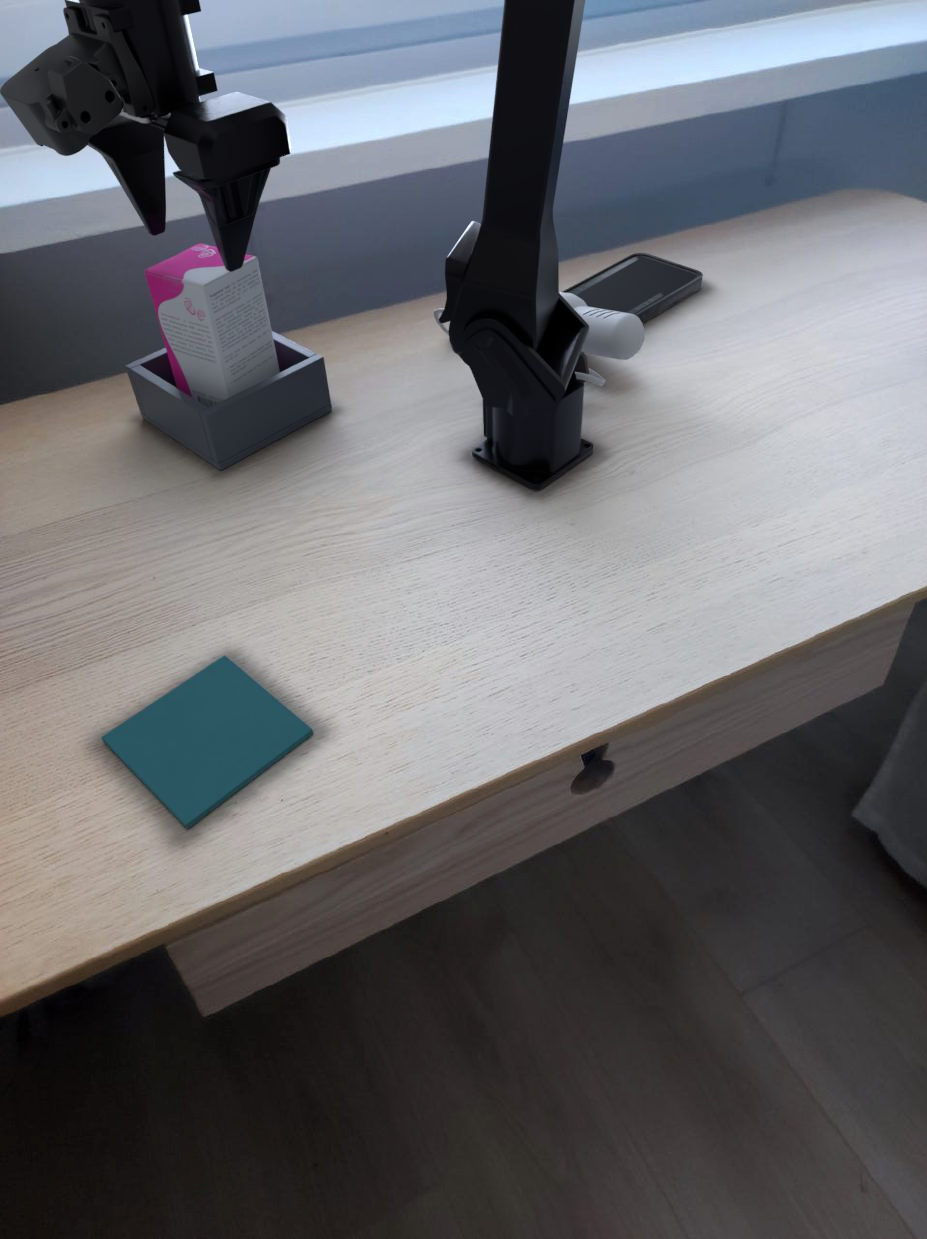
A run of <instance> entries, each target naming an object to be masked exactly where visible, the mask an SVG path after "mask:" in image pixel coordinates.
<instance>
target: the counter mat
mask: <svg viewBox="0 0 927 1239" xmlns="http://www.w3.org/2000/svg"><path fill="white" fill-rule="evenodd" d="M313 734H314V731H313V728H311V726H309V725H308V724H307V723H306V722H304V721H303V719H301V718H300V717H298V716H297V715H296V714H295V713H294V712H293V711H292V710H291V709H289V708H288V707H287V706H286V705H284V704H283V703H282V702H281V701H280V700H278V699H277V697H274V695H272V693H270V692H269V691H267V689H266V688H264V687H263V686H262V685H261V684H259V683H258V682H257V681H256V680H255V679H253V677H251V676H250V675H249V674H247V672H245V671H244V670H243V669H241V667H239V666H238V665H237V664H236V663H234V662H233V661H232V660H231V659H230V658H229V657H228V656H226V655H225V654H224V655H223V656H221V657H219V658H217V660H215V661H213V662H212V663H211V664H209V665H207V666H205V667H204V668H203V669H202V670H199V671H198V672H197V673H195V674H194V675H192V676H191V677H189V678H188V679H186V680H185V681H183V682H182V683H180V684H179V685H177V686H176V687H174V688H173V689H171V690H169V691H168V692H167V693H166V694H163V695H162V696H161V697H159V698H158V699H156V700H154V701H153V702H151V703H150V704H149V705H147V706H145V707H144V708H143V709H141V710H139V711H138V712H137V713H135V714H134V715H132V716H131V717H129V718H128V719H126V720H124V721H123V722H121V723H120V724H119V725H117V726H116V727H114V728H112V729H111V730H109V731H108V732H107V733H105V734H104V735H102V736H101V740H102V742H103V743H104V744H105V745H106V746H107V747H108V748H109V749H110V751H112V752H113V753H114V754H115V755H116V756H117V758H118V759H119V760H120V761H121V762H122V763H123V764H124V766H126V767H127V768H128V770H130V771H131V772H132V773H133V774H134V775H135V777H136V778H137V779H139V781H140V782H141V783H142V784H143V785H144V786H145V787H146V788H147V789H148V791H150V793H152V794H153V796H154V797H156V799H157V800H158V801H159V802H160V803H161V804H162V805H163V806H164V807H165V808H166V809H167V810H168V811H169V812H170V813H171V814H172V815H173V817H175V819H177V821H178V822H179V823H180V824H181V825H182V826H183V827H184V828H185V829H186V830H189V829H190V828H192V826H194V825H195V824H196V823H197V822H199V821H200V820H202V819H203V818H204V817H206V816H207V815H209V814H210V813H211V812H212V811H214V810H215V809H217V807H219V806H220V805H221V804H223V803H224V802H225V801H227V800H228V799H230V798H231V797H232V796H233V795H234V794H237V792H239V791H240V790H241V789H243V788H244V787H245V786H247V785H248V784H249V783H251V782H252V781H253V780H255V779H256V778H257V777H259V775H261V774H262V773H264V772H265V771H266V770H267V769H269V768H270V767H272V766H273V765H274V764H276V763H277V762H278V761H279V760H281V759H282V758H283V757H285V756H286V755H287V754H289V753H290V752H291V751H293V750H294V749H296V748H297V747H298V746H300V745H301V744H302V743H303V742H304V741H306V740H307V739H309V738H310V737H311V736H312V735H313Z"/></svg>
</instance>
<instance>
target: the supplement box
mask: <svg viewBox="0 0 927 1239" xmlns="http://www.w3.org/2000/svg"><path fill="white" fill-rule="evenodd" d="M143 272H144V275H145V276H144V277H145V279H146V283H147V286H148V290H149V293H150V296H151V300H152V303H153V307H154V311H155V314H156V318H157V321H158V325H159V329H160V332H161V333H160V334H161V336H162V339H163V342H164V346H165V347H164V348H166V350H167V354H168V358H169V361H170V365H171V368H172V372H173V375H174V379H175V382H176V386H177V389H179V390H181V391H182V392H184V393H186V394H187V395H189V396H190V397H192V398H194V399H195V400H197V401H199V402H200V403H202V404H203V405H205V406H207V407H208V408H209V407H211V406H213V405H215V404H217V403H219V402H221V401H223V400H225V399H227V398H229V397H231V396H233V395H235V394H237V393H239V392H241V391H244V390H246V389H248V388H250V387H252V386H254V385H256V384H258V383H260V382H262V381H264V380H266V379H268V378H270V377H272V376H274V375H276V374H278V373H280V370H279V365H278V360H277V355H276V350H275V345H274V340H273V335H272V331H273V329H272V324H271V319H270V314H269V310H268V305H267V298H266V294H265V289H264V284H263V280H262V275H261V268H260V264H259V258H258V256H255V255H250V254H247V253H246V255H245V259H244V263H243V266H242V267H241V268H240V269H237V270H235V271H232V272H230V271H228V270H226V269H225V266H224V264H223V261H222V259H221V257H220V254H219V252H218V249H217V246H213V245H210V244H206V243H198V244H195V245H193V246H190V247H189V248H187V249H185V250H183V251H181V252H180V253H177V254H175V255H173V256H172V257H169V258H167V259H165V260H162V261H161V262H159V263H157V264H154V265H152V266H150V267H148V268H146V269H144V271H143Z"/></svg>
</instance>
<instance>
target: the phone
mask: <svg viewBox="0 0 927 1239" xmlns="http://www.w3.org/2000/svg"><path fill="white" fill-rule="evenodd" d="M703 276H704V274H703V272H702V271H700V270H698V269H696V268H695V269H694V268H692V267H689V266H687V265H683V264H681V263H678V262H674V261H671V260H668V259H665V258H662V257H659V256H656V255H653V254H650V253H648V252H647V253H646V252H635V253H631V254H630V255H628V256H626V257H624V258H622V259H621V260H618V261H617V262H614V263H613V264H611V265H609V266H607V267H606V268H603V269H602V270H600V271H598V272H596V273H594V274H593V275H590V276H589V277H587V278H584V279H583V280H581V281H578V282H577V283H576V284H573V285H572V286H570V287H568V288H566V289H564V290H562V291H561V292H563V293H571V294H574V295H576V296H577V297H579V298H581V299H582V300H583V301H584V302H585V303H586V305H587V306H588V307H593V308H600V309H606V310H612V311H618V312H624V313H630V314H634V315H636V316H637V317H638V318H639V319H640V320H641V322H642V324H644V323H645V322H647V321H649V320H651V319H652V318H655V316H657V315H659V314H661V313H662V312H664V311H666V310H667V309H669V308H671V307H673V306H674V305H677V303H679V302H681V301H682V300H684V299H686V298H687V297H689V296H692V294H695V293H696V292H698V291H699V290H701V289H702V288H701V287H702V282H703Z"/></svg>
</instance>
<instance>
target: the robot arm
mask: <svg viewBox="0 0 927 1239" xmlns="http://www.w3.org/2000/svg"><path fill="white" fill-rule="evenodd" d="M64 4H65V7H64V8H63V10H62V11H63V16H64V19H65V23H66V27H67V33H68V35H66V36H65V37H64V38H63V39H61V40H60V41H58V42H57V43H56V44H53V45H51V46H49V47H47V48H46V49H45V50H44V51H42V52H41V53H39V55H37V56H36V57H34V58H33V59H32V60H31V61H30V62H28V63H27V64H26V65H25V66H24V67H22V68H21V69H20V70H18V71H17V72H16V73H15V74H14V75H12V76H11V77H10V78H9V79H7V80H6V81H5V82H4V83H3V84H2V86H1V87H0V95H1V97H2V98H3V100H4V101H5V103H6V104H7V105H8V106H9V108H10V109H11V110H12V112H13V113H14V115H15V116H16V118H17V119H18V120H19V121H20V123H21V125H22V126H23V128H25V131H27V133H28V134H29V135H30V137H31V138H32V140H33V141H34V142H35V144H36V145H37V146H40V147H44V146H45V147H47V148H49V149H52V150H54V151H55V152H56V153H57V154H58V155H60V156H64V157H69V156H73V155H76V154H77V153H80V152H81V151H82V150H84V149H85V148H86V147H87V146H88V147H89V148H91V149H93V150H94V151H96V152H98V153H99V155H101V156H102V158H103V159H104V160H105V162H106V164H107V165H108V168H110V170H111V172H112V174H113V175H114V177H115V178H116V180H117V182H118V183H119V184H120V186H121V188H122V190H123V192H124V193H125V195H126V197H127V198H128V200H129V202H130V204H131V205H132V207H133V209H134V210H135V212H136V214H137V215H138V217H139V219H140V220H141V222H142V224H143V225H144V228H145V229H146V231H147V232H148V234H150V235H151V236H154V237H155V236H158V235H161V234H164V233H165V231H166V228H167V226H166V225H167V196H166V195H167V191H166V187H167V186H166V161H165V160H166V155H165V145H166V149H167V153H168V154H169V156H170V157H171V159H172V160H173V162H174V164H175V165H176V167H177V168H178V170H176V171H175V170H174V171H173V172H172V175H173V176H174V177H175V178H177V179H178V180H179V181H180V182H182V183H183V184H185V185H186V186H187V187H189V188H190V189H191V190H193V191H195V192H196V193H197V194H198V196H199V198H200V201H201V205H202V207H203V210H204V213H205V217H206V219H207V222H208V226H209V228H210V231H211V234H212V237H213V240H214V242H215V247H217V249H218V252H219V254H220V257H221V259H222V261H223V264H224V266H225V269H226V270H228V271H230V272H232V271H235V270H237V269H240V268H241V267H242V266H243V263H244V259H245V255H246V254H247V250H248V246H249V243H250V238H251V235H252V231H253V226H254V223H255V219H256V216H257V212H258V209H259V205H260V201H261V198H262V195H263V193H264V189H265V187H266V184H267V182H268V178H269V176H270V172H271V171H272V168H275V167H278V166H279V165H280V164H281V158H282V157H286V156H289V155H291V153H292V151H293V149H292V142H291V135H290V129H289V122H288V117H287V114H285V112H283V111H282V110H281V109H280V108H279V107H277V106H276V105H275V104H274V103H273V102H271V101H268V100H266V99H263V98H259V97H255V96H252V95H249V94H245V93H242V92H239V91H234V92H230V93H227V94H223V95H220V96H217V97H213V98H210V99H206V100H204V101H201V98H200V97H201V96H205V95H208V94H212V93H215V92H218V86H217V81H216V75H215V72H214V71H211V70H207V69H204V68H200V67H199V63H198V58H197V53H196V50H195V44H194V40H193V34H192V31H191V30H192V29H191V25H190V20H189V16H188V15H193V14H197V13H200V12H202V7H201V3H200V0H64ZM585 6H586V0H503V9H502V20H501V29H500V40H499V50H498V59H497V68H496V79H495V90H494V97H493V98H494V99H493V108H492V119H491V129H490V140H489V148H488V158H487V169H486V177H485V190H484V198H483V206H482V207H483V208H482V219H481V223H480V222H477V221H474V220H472V221H471V222H470V223H469V224H468V226H467V227H466V229H465V230H464V232H463V233H462V235H461V236H460V237H459V239H458V241H457V242H456V243H455V245H454V246H453V248H452V249H451V250H450V252H449V254H448V255H447V257H446V258H445V262H444V280H445V289H446V299H445V303H444V311H443V313H441V314H440V315H439V316H440V317H439V322H440V323H442V324H446V323H448V322H449V324H448V331H449V335H448V340H449V343H450V347H451V349H452V350H451V351H452V352H453V353H454V354H456V355H458V357H459V358H460V359H461V360H462V361H463V363H464V364H465V365H466V366H468V367H469V369H470V371H471V373H472V376H473V379H474V381H475V384H476V386H477V388H478V391H479V393H480V396H481V397H482V426H483V430H482V431H483V437H485V438H486V439H485V440H483V441H482V442H480V443H479V444H477V445H475V446H474V447H473V448H472V449H471V456H472V458H473V459H476V460H478V461H479V462H481V463H483V464H485V465H487V466H489V467H490V468H493V469H495V470H496V471H498V472H499V473H501V474H504V475H506V476H508V477H510V478H512V479H514V480H516V481H517V482H519V483H521V484H523V485H524V486H527V487H529V488H531V489H533V490H541V489H543V488H545V486H547V485H548V484H550V483H552V482H553V481H554V480H556V479H557V478H558V477H560V476H561V475H563V474H564V473H566V472H567V471H568V470H570V469H571V468H573V467H574V466H576V465H578V464H579V463H580V462H582V460H584V459H586V458H587V457H588V456H590V455H591V454H592V453H593V452H594V447H595V445H594V443H592V442H591V441H589V440H587V439H585V438H582V429H583V428H582V427H583V426H582V425H583V412H584V398H585V382H584V383H583V382H581V381H579V380H577V378H576V374H575V372H574V368H575V365H576V362H577V360H578V357H579V355H580V352H581V350H582V347H583V344H584V342H585V339H586V337H587V334H588V332H589V325H588V324H587V323H586V322H585V320H584V319H583V318H582V317H581V316H580V315H579V314H578V313H577V312H576V311H575V310H574V309H573V307H572V306H571V305H570V304H569V303H568V302H567V301H566V300H565V299H564V298H563V297H562V295H561V294H560V293H559V292H560V287H559V286H560V283H559V281H560V280H559V279H560V278H559V277H560V276H559V275H560V274H559V273H560V270H559V266H560V264H559V246H558V241H557V235H556V230H555V224H554V203H555V198H556V191H557V185H558V179H559V178H558V177H559V171H560V166H561V159H562V152H563V148H564V147H563V146H564V140H565V133H566V126H567V121H568V114H569V109H570V108H569V107H570V103H571V102H570V101H571V94H572V89H573V82H574V76H575V71H576V63H577V56H578V51H579V45H580V44H579V43H580V37H581V31H582V25H583V18H584V12H585Z"/></svg>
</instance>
